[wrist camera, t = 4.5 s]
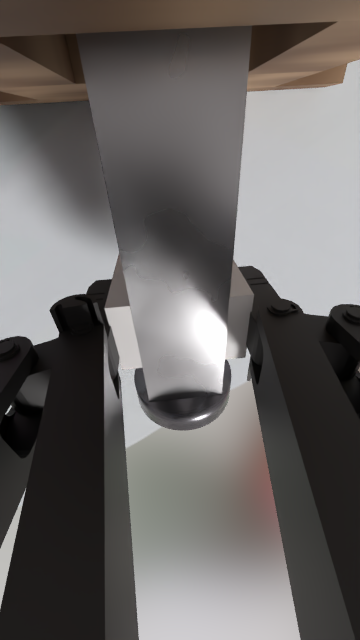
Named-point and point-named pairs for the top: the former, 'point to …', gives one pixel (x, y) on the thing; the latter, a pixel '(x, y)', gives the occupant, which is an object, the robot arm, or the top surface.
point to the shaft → (173, 200)
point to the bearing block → (174, 13)
